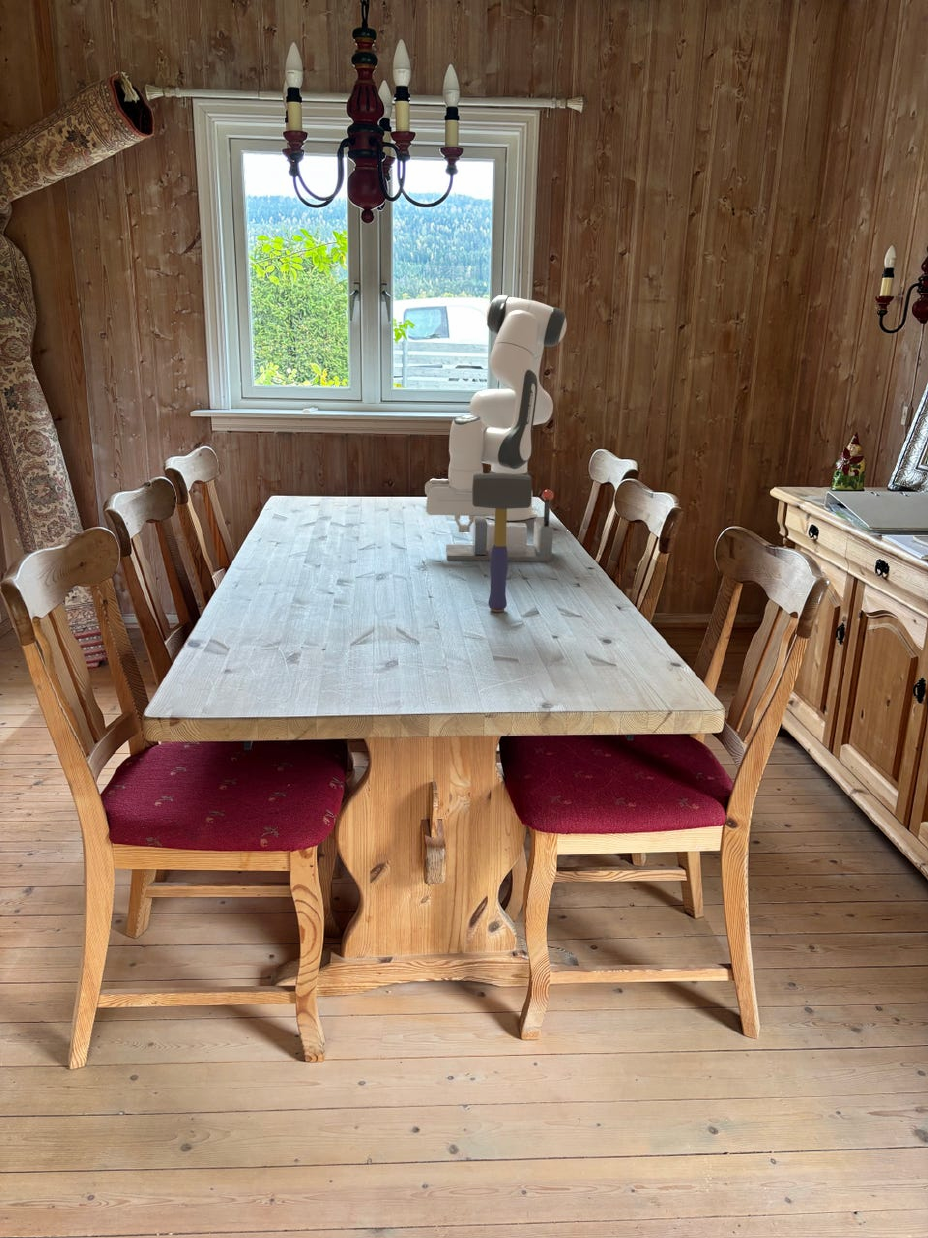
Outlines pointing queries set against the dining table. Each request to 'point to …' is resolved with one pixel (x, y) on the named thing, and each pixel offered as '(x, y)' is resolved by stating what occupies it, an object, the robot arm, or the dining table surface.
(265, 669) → the dining table surface
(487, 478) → the rubber mallet
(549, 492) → the vise
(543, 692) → the dining table surface
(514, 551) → the block
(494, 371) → the robot arm
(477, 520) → the block
